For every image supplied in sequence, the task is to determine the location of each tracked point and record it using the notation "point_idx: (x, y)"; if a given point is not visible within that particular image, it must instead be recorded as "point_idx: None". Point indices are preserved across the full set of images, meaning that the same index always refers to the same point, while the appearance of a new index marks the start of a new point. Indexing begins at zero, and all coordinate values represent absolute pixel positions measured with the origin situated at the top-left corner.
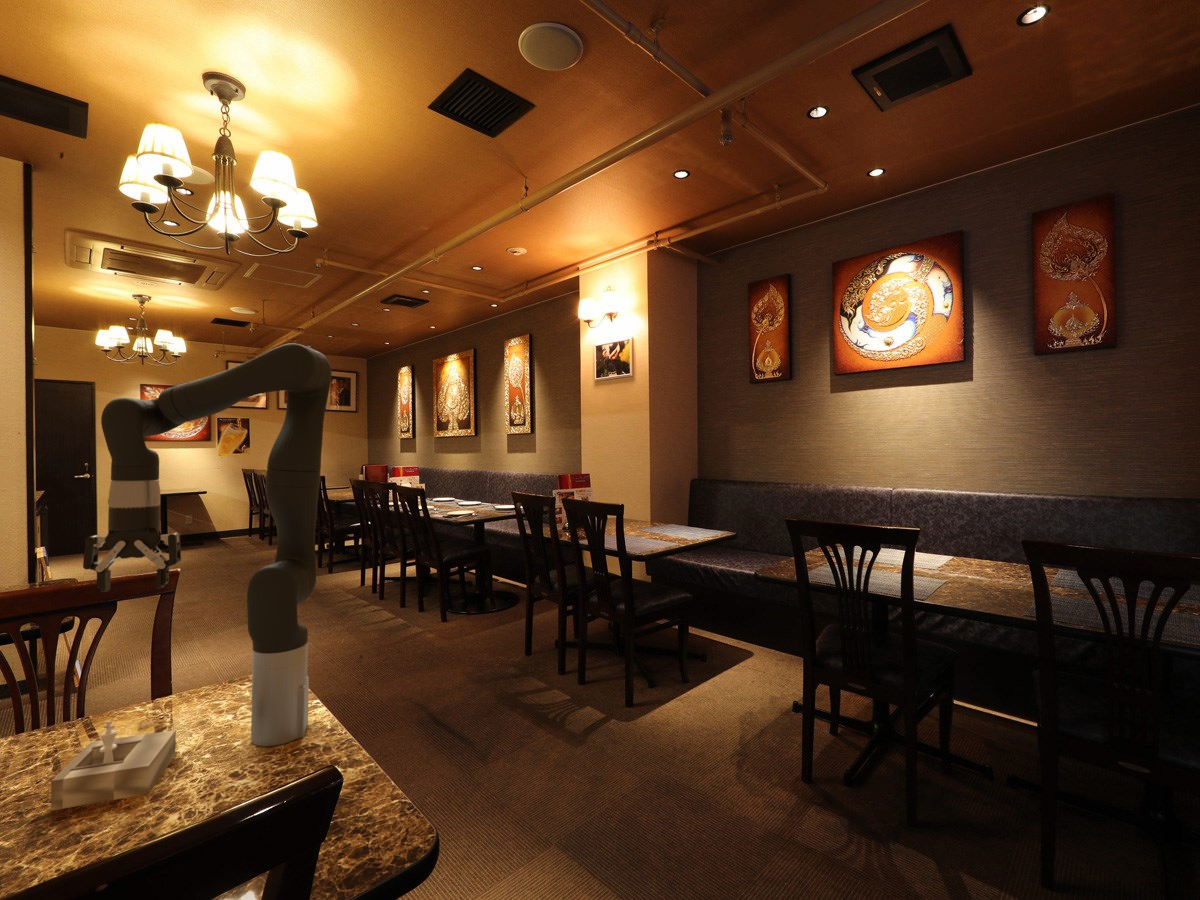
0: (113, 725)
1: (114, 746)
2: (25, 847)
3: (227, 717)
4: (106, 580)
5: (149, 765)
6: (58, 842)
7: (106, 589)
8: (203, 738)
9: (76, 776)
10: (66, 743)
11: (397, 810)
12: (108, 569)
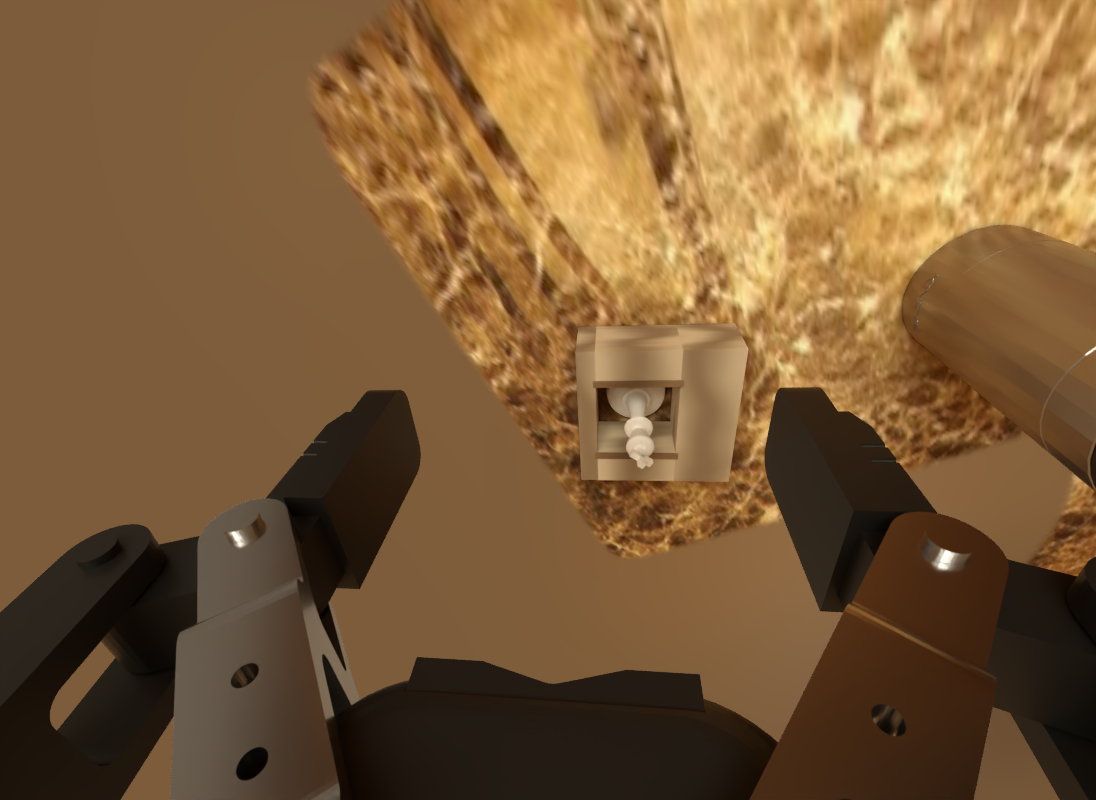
0: (651, 463)
1: (650, 433)
2: (597, 515)
3: (843, 120)
4: (387, 505)
5: (728, 478)
6: (634, 518)
7: (412, 449)
8: (786, 253)
9: (616, 479)
10: (456, 178)
11: None
12: (314, 527)
